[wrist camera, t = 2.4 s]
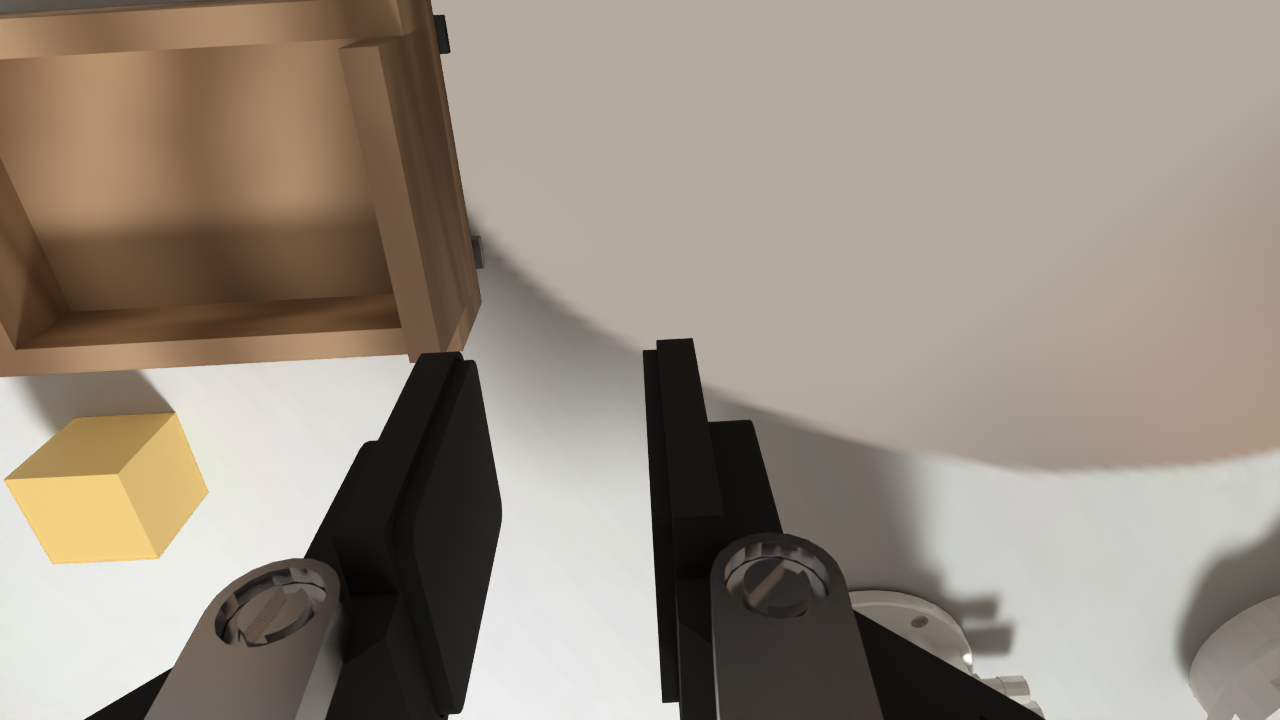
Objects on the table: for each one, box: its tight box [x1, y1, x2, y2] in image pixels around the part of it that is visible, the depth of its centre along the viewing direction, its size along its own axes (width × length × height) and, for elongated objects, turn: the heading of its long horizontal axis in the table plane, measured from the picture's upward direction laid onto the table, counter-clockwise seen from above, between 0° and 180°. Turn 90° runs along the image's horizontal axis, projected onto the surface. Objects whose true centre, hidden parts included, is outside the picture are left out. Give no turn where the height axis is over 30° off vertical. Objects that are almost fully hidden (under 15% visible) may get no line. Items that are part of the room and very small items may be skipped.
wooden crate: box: [0, 0, 482, 377], centre depth 24 cm, size 16×11×8 cm
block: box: [4, 412, 208, 564], centre depth 33 cm, size 4×4×4 cm
